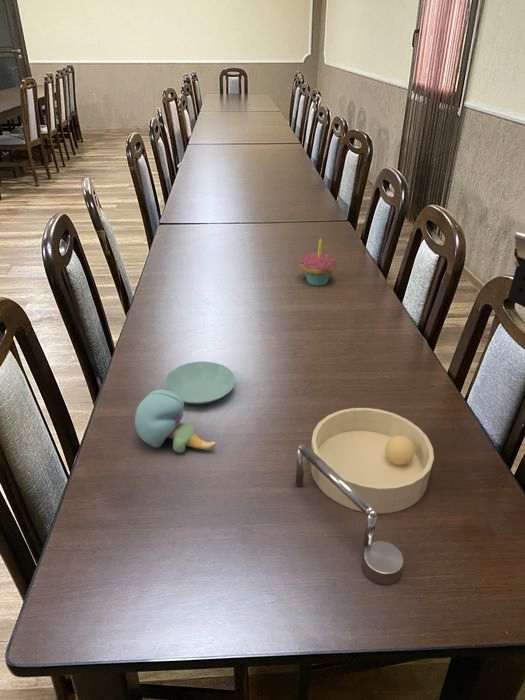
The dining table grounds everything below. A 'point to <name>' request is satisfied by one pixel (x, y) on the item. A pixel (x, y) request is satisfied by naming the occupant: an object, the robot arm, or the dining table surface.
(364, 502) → the ladle
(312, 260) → the cupcake
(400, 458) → the tan ball
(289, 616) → the dining table surface
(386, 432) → the bowl
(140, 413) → the multicolor toy piece
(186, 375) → the saucer
